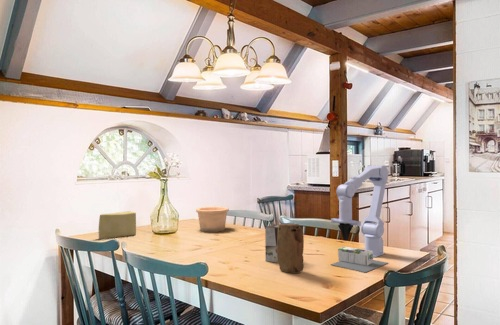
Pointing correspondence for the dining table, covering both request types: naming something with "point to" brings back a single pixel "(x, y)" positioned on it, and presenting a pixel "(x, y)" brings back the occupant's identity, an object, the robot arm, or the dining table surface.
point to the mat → (359, 266)
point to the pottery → (212, 218)
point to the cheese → (117, 225)
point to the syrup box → (355, 255)
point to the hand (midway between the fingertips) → (345, 240)
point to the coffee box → (271, 243)
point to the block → (290, 247)
